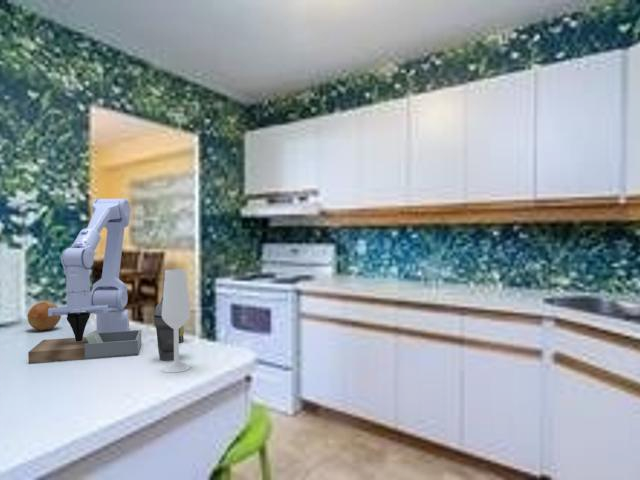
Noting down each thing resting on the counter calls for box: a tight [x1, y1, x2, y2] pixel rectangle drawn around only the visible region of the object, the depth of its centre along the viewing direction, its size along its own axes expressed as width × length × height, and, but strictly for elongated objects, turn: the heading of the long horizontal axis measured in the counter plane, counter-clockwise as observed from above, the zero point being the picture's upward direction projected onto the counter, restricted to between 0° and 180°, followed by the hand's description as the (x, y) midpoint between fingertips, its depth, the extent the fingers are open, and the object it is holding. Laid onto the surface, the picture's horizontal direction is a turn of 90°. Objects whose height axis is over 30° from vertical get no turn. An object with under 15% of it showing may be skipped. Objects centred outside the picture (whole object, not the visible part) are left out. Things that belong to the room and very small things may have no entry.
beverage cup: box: [153, 282, 180, 362], centre depth 124 cm, size 7×7×20 cm
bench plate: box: [27, 336, 89, 365], centre depth 128 cm, size 13×14×3 cm
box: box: [84, 329, 142, 360], centre depth 132 cm, size 13×14×4 cm
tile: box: [85, 329, 103, 343], centre depth 130 cm, size 5×5×2 cm
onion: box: [26, 299, 62, 332], centre depth 160 cm, size 10×10×10 cm
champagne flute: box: [161, 269, 191, 373], centre depth 115 cm, size 7×7×24 cm
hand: (79, 340), depth 129 cm, fingers closed
